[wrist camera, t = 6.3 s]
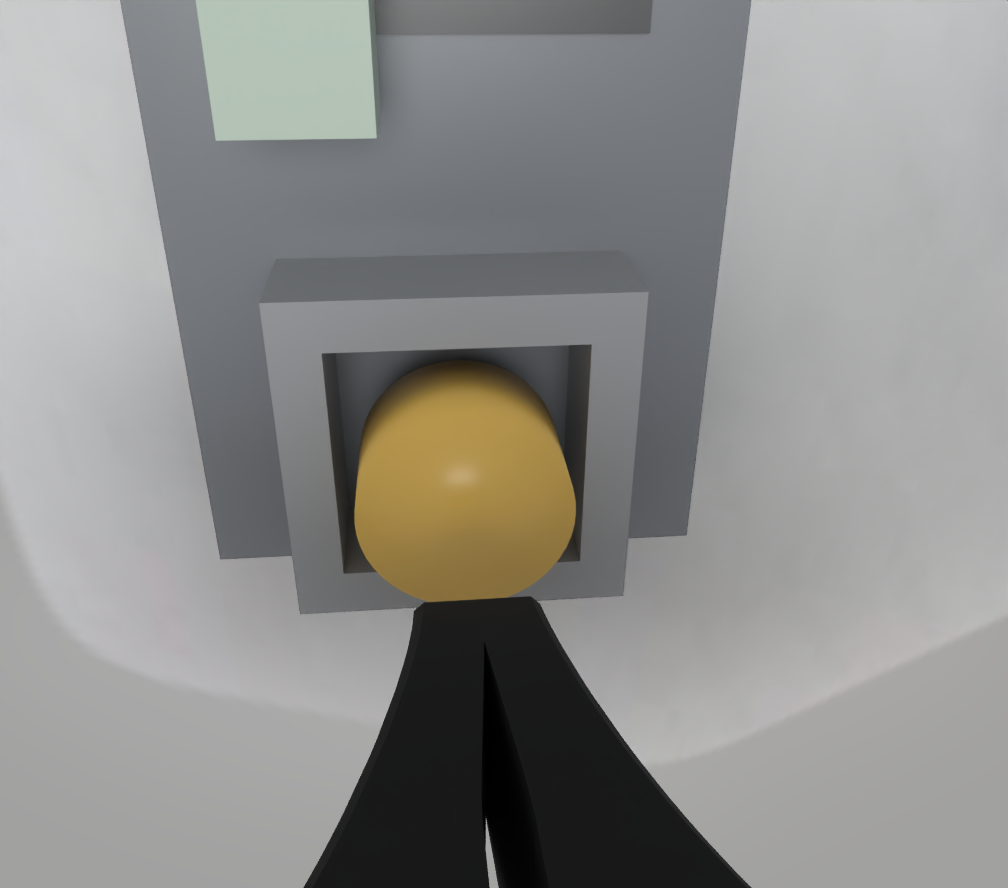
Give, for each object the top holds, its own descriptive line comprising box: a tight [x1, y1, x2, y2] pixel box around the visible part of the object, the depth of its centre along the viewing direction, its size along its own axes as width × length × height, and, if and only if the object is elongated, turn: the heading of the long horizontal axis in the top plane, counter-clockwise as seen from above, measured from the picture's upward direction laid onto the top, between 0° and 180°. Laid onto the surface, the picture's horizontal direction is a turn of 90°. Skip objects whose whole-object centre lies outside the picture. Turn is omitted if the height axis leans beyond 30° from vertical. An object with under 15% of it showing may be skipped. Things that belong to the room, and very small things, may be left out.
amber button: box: [354, 360, 576, 602], centre depth 14 cm, size 3×3×2 cm
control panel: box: [120, 0, 751, 614], centre depth 13 cm, size 19×9×4 cm, turn 0°
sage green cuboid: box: [196, 0, 381, 141], centre depth 12 cm, size 3×2×2 cm
